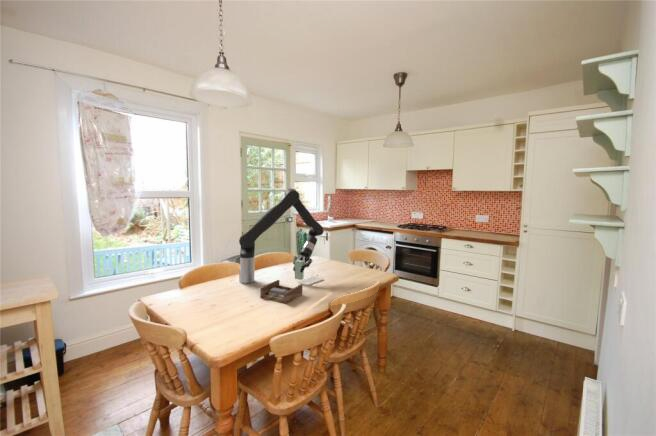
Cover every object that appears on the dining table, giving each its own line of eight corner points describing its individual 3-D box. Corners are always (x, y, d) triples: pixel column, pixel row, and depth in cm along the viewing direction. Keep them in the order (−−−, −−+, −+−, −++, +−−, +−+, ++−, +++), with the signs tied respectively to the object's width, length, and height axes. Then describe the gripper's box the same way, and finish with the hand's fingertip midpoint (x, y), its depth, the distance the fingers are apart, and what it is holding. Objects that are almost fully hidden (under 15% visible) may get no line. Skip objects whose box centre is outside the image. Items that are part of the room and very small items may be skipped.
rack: (260, 299, 162) (260, 287, 161) (277, 291, 176) (277, 279, 175) (286, 306, 154) (286, 293, 153) (302, 296, 168) (302, 284, 167)
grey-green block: (294, 278, 187) (294, 260, 186) (297, 277, 190) (297, 259, 189) (301, 279, 185) (301, 261, 184) (303, 278, 188) (303, 260, 186)
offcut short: (269, 293, 162) (269, 289, 162) (273, 290, 166) (273, 287, 166) (283, 295, 159) (283, 292, 159) (287, 293, 163) (287, 289, 163)
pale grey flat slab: (278, 288, 183) (291, 293, 175) (278, 284, 182) (291, 288, 175) (310, 277, 207) (323, 281, 199) (310, 273, 206) (323, 277, 199)
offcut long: (267, 297, 163) (267, 292, 163) (273, 294, 168) (273, 290, 167) (284, 301, 158) (284, 296, 157) (290, 298, 162) (290, 293, 162)
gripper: (296, 245, 195) (286, 266, 186) (314, 247, 189) (304, 269, 179) (300, 251, 200) (290, 272, 191) (318, 254, 194) (309, 275, 184)
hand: (297, 271), depth 185 cm, fingers closed on grey-green block, 4 cm apart
